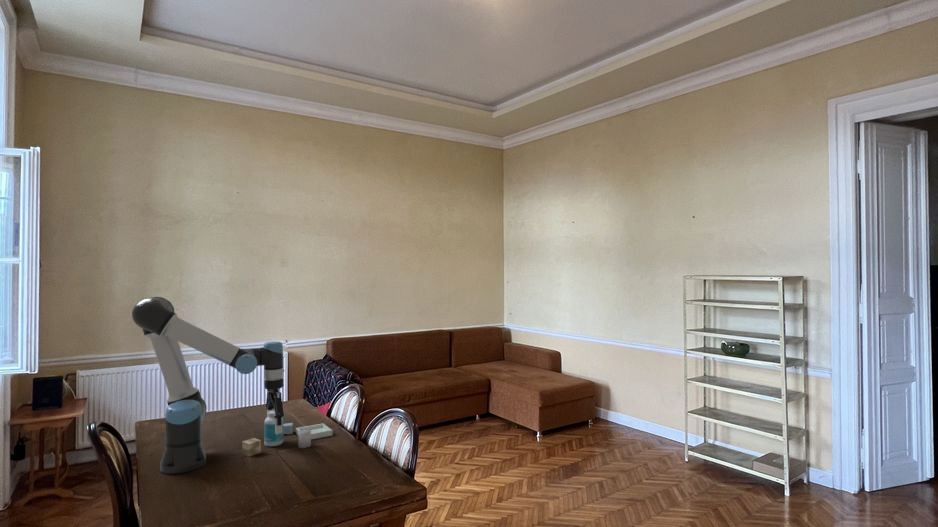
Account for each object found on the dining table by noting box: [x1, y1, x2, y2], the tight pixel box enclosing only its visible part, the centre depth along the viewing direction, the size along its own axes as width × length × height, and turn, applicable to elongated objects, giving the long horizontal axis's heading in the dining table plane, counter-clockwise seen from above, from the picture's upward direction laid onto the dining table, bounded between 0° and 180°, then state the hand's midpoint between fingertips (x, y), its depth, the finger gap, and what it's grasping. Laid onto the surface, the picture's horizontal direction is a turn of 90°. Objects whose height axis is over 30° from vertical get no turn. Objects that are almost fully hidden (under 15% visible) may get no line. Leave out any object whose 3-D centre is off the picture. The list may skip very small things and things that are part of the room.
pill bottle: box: [263, 410, 284, 447], centre depth 215 cm, size 8×7×14 cm
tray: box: [295, 422, 334, 440], centre depth 228 cm, size 13×13×2 cm
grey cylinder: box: [297, 430, 312, 449], centre depth 212 cm, size 5×5×6 cm
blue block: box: [283, 422, 294, 436], centre depth 229 cm, size 6×4×4 cm, turn 109°
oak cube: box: [241, 437, 262, 457], centre depth 204 cm, size 5×5×5 cm
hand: (274, 428), depth 215 cm, fingers open, 13 cm apart
